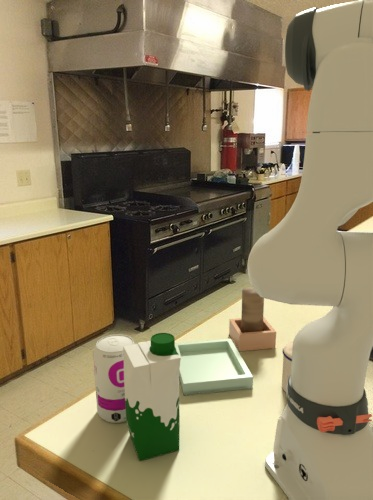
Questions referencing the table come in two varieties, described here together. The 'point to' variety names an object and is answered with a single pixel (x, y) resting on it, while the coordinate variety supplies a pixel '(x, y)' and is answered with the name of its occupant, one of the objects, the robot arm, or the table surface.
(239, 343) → the terracotta holder
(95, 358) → the supplement can
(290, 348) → the teacup with lid
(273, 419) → the table surface
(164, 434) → the milk carton
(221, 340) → the sage tray
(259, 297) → the walnut canister
